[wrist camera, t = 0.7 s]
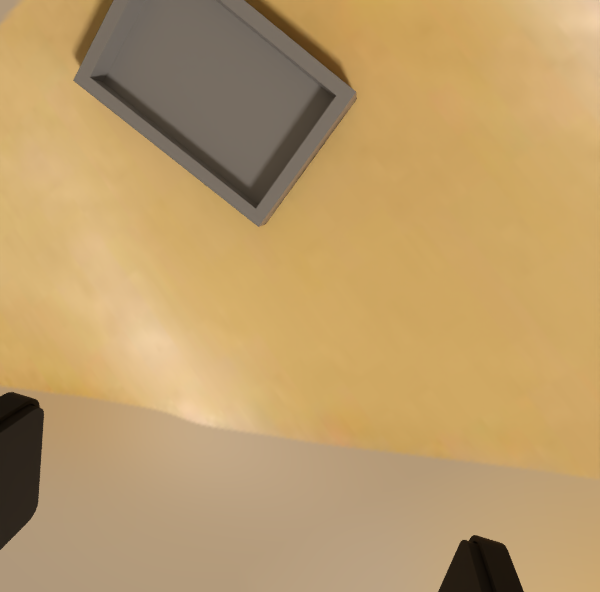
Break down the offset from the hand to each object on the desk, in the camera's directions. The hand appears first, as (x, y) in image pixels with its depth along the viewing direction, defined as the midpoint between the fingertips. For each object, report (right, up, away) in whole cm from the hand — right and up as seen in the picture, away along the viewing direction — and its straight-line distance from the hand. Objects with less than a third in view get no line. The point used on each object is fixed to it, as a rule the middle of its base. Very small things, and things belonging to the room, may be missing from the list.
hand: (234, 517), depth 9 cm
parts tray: (-5, +21, +24) cm, 32 cm away
